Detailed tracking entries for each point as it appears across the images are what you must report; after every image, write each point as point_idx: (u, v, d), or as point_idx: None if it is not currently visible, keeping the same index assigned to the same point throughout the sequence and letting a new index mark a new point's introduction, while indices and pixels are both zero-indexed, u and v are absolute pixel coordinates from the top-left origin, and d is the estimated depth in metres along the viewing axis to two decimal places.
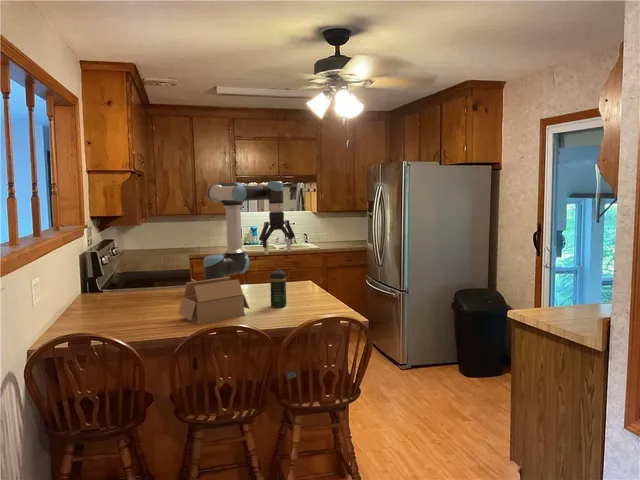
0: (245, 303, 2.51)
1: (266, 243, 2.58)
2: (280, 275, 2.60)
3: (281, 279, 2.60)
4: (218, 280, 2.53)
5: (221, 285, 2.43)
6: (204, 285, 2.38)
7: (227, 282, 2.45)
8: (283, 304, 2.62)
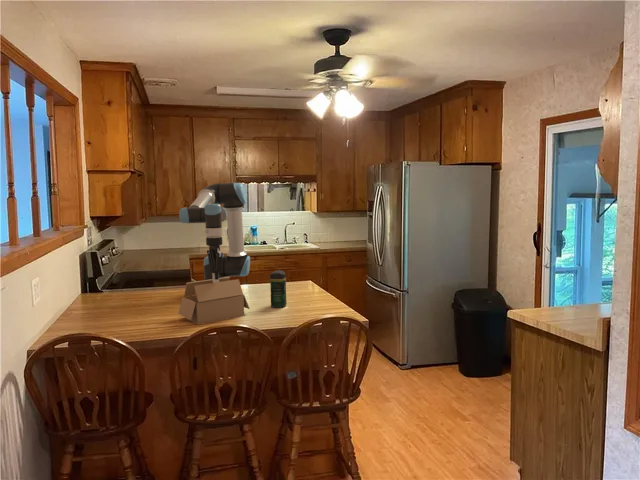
0: (245, 303, 2.51)
1: None
2: (280, 275, 2.60)
3: (281, 279, 2.60)
4: None
5: (221, 285, 2.43)
6: (204, 285, 2.38)
7: (227, 282, 2.45)
8: (283, 304, 2.62)
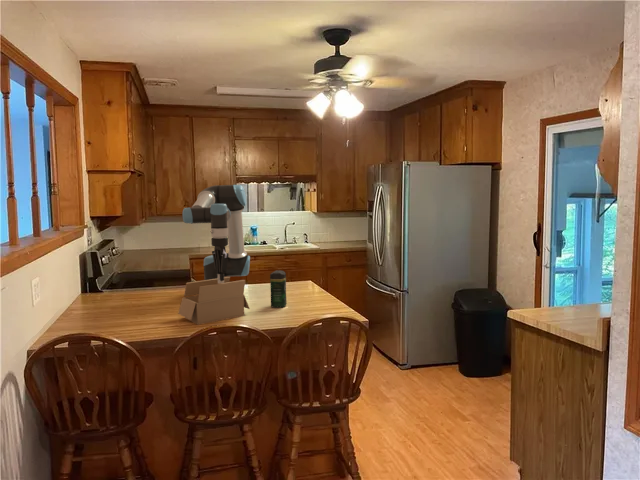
0: (245, 303, 2.51)
1: None
2: (280, 275, 2.60)
3: (281, 279, 2.60)
4: None
5: (226, 286, 2.39)
6: (210, 286, 2.33)
7: (233, 283, 2.40)
8: (283, 304, 2.62)
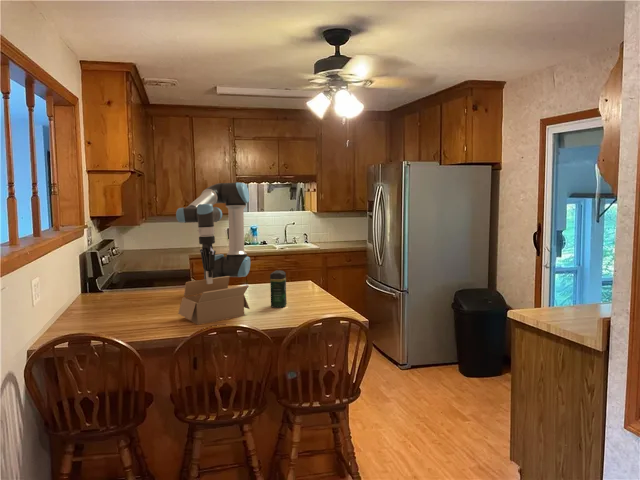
0: (245, 303, 2.51)
1: None
2: (280, 275, 2.60)
3: (281, 279, 2.60)
4: (217, 279, 2.53)
5: (229, 291, 2.37)
6: (213, 292, 2.31)
7: (236, 288, 2.38)
8: (283, 304, 2.62)
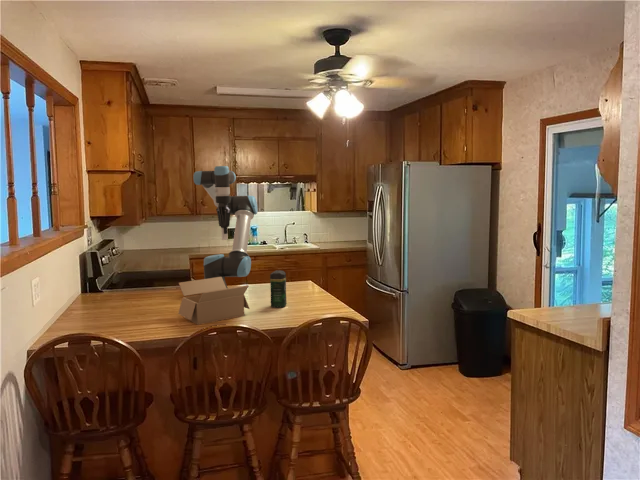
0: (245, 303, 2.51)
1: None
2: (280, 275, 2.60)
3: (281, 279, 2.60)
4: (210, 279, 2.60)
5: (229, 291, 2.37)
6: (213, 292, 2.31)
7: (236, 288, 2.38)
8: (283, 304, 2.62)
